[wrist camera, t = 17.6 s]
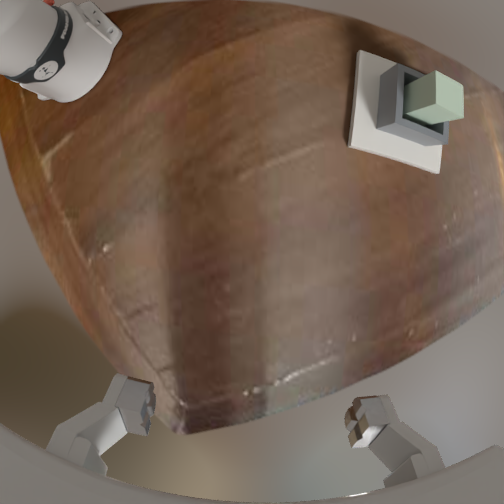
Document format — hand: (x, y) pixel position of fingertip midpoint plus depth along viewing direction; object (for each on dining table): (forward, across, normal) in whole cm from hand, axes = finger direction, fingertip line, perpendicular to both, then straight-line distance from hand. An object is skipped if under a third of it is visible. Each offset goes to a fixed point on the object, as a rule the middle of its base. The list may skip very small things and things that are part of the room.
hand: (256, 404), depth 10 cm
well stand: (+34, -20, -19) cm, 43 cm away
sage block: (+32, -20, -19) cm, 42 cm away
